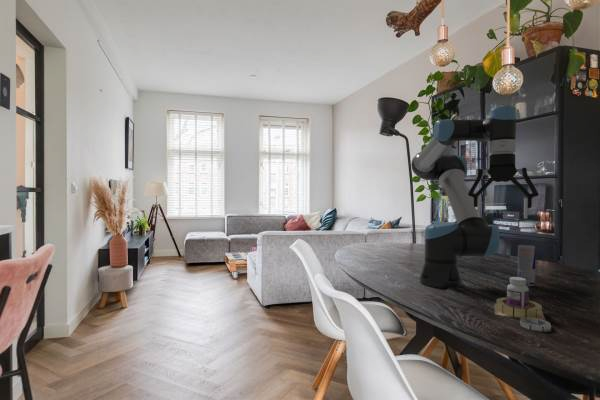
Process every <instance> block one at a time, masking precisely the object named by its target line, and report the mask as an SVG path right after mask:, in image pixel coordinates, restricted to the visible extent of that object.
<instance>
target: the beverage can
mask: <svg viewBox="0 0 600 400" xmlns="http://www.w3.org/2000/svg"><path fill="white" fill-rule="evenodd" d="M517 277H520V278H524V279H526V284H525V286H527V287H534V286H535V285H536V246H535V245H529V244H528V245H527V244H519V245H517Z"/></svg>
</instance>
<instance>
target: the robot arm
mask: <svg viewBox="0 0 600 400" xmlns="http://www.w3.org/2000/svg"><path fill="white" fill-rule="evenodd" d="M516 111H517V110H516V107H514V106H512V105H500V106H495V107H492V108H491V109H490V111H489V116H488V118H485V119H484V118H483V119H478V118H477V119H475V118H474V119H450V118H447V119H438V120H437V121H435V123H434V126H433V129H432V130H433V131H432V135H433V136H432V138H431V139H430V140H429V141H428V143H427V144H426V145H425V147H424V148H423V149H422V150H421V151H419V152H417V153H416V154H415V155H414V156H413V158H412V159H411V169H412V172H413V173H414V174H415V175H416V177H418V178H420V179H422V180H425V181H437V183H438V185H439V186H440V187H441V188H444V190H445V193H446V196H447V199H448V202H449V204H450V206H451V210H452V212H453V214H454V217H455V220H456V222H454V221H453V222H452V221H451V222H450V221H448V222H436V223H431V224H428V225H427V226H426V227H425V228H424V229H425V230H424V231H425V232H424V263H423V266H422V269H421V272H420V275H419V282H420V283H421V284H422V285H424V286H427V287H433V288H437V289H438V288H439V289H449V287H451V288H460V287H462V286H463V279H462V275H461V273H460V269H459V267H458V257H481V258H484V257H491V256H494V255H495V254H496V253H497V252H498V249H499V246H500V232H499V229H498V228H497V227H496V226H493V225H490V226H489V224H488V222H487V220H486V219H485V218H484V217H481V198H480V197H479V196H480V195H482V193H483V192H484V191H485V190H486V189H487V188H488V187H489V186H490V185H491V184H492V183H493V181H494V182H496V183H501V182H504V183H507V182H511V183H512V184H514V185H515V187H516V188H517V189H518V190H519V191H520V192H521V193H522V194H523V195H524V196H525V197H526V198H525V197H524V198H523V218H524V219H526V220H527V219H528V209H532V207H533V205H532V203H533V198H535V197H538V196H539V191H538V190H537V188H536V187H535V184H533V181H532V180H531V178H530V176H529V174H528V171H527V167H521V168H516V154H515V152H516V150H517V149H516V145H517V144H516V142H517V141H516V137H517V135H516V133H517V114H516V113H517V112H516ZM460 141H463V142H464V141H465V142H467V141H468V142H470V141H471V142H472V141H473V142H476V143H483V142H484V143H487V142H489V154H490V155H489V158H488V162H489V163H488V165H489V166H488V169H484V168H480V169H479V170H478V176H477V177H476V179H475V180H474V183H473V184H472V186H471V188H470V189H469V190H468V187H467V184H466V182H465V179H466V177H467V175H468V164H467V162H466V159H465V158H464V157H463V156H462V155H458V154H449V155H447V154H445V153H446V152H447V151H448V150H449V149H450V148H451V147H452V146H453V145H454V144H455V143H456V142H460ZM444 154H445V155H444ZM517 173H518V174H519V175H520V176H522V177H523V180H524V181H525V183H526V185H527V186H528V189H530V191H531V193H530V192H529V191H528V190H527V189H526V188H525V187H524V186H523V185H522V184H521V183H520V182H519V180H517V179H516V178H515V177H514V176H515V175H516V174H517ZM486 174H487V175H489V176H490V178H489V179H488V180H487V181H486V182H485V183H483V185H482V186H481V187H480V188H479V189H478V190H477V191H476V193H474V192H475V190H476V188H477V187H478V185H479V183H480V181H481V180H482V178H483V177H484V176H485V175H486Z"/></svg>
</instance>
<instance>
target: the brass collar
mask: <svg viewBox="0 0 600 400" xmlns="http://www.w3.org/2000/svg"><path fill="white" fill-rule="evenodd" d="M495 301H496V303H495V304H496V310H497V311H498V312H500V313H502V314H505V315H508V316H507V317H509V316H512V317H511V318H516V317H517V318H516V319H520V318H525V317H528V318H529V317H530V318H540V317H542V313H543V306H542V305H541V304H540V303H538V302H536V301H533V300H529V308H521V307H514V306H511V305H507V297H500V298H497V299H496V300H495Z"/></svg>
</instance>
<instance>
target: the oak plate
mask: <svg viewBox="0 0 600 400" xmlns="http://www.w3.org/2000/svg"><path fill="white" fill-rule="evenodd" d="M493 304H494V305H493V306H494V315H497V316H503V317H510V318H513V317H512V316H508V315H505V314H502V313H500V312H498V311H497V310H496V303H493ZM515 318H516V319H518V318H517V317H515ZM538 319H542V320H545V321H547V320H546V318H545V315H544V313H543V312H542V317H540V318H538Z"/></svg>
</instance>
